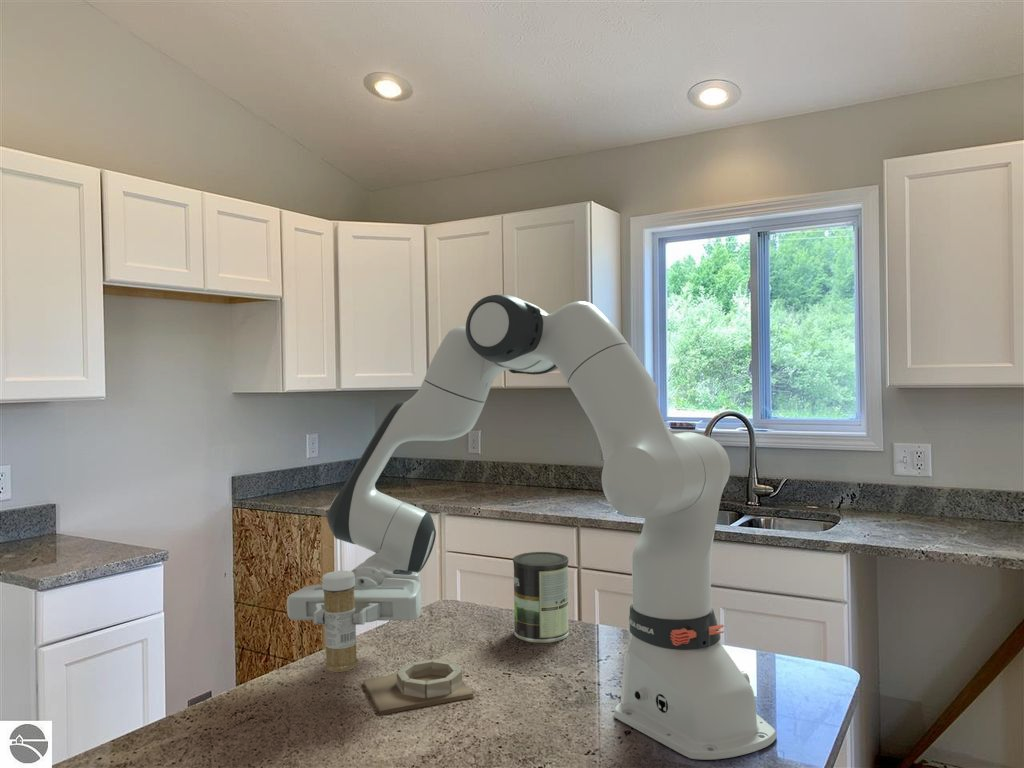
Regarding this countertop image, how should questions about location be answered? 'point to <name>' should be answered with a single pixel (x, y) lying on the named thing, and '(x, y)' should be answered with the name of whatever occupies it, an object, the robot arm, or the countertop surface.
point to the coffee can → (541, 597)
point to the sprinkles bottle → (339, 620)
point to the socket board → (407, 702)
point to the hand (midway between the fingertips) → (337, 619)
